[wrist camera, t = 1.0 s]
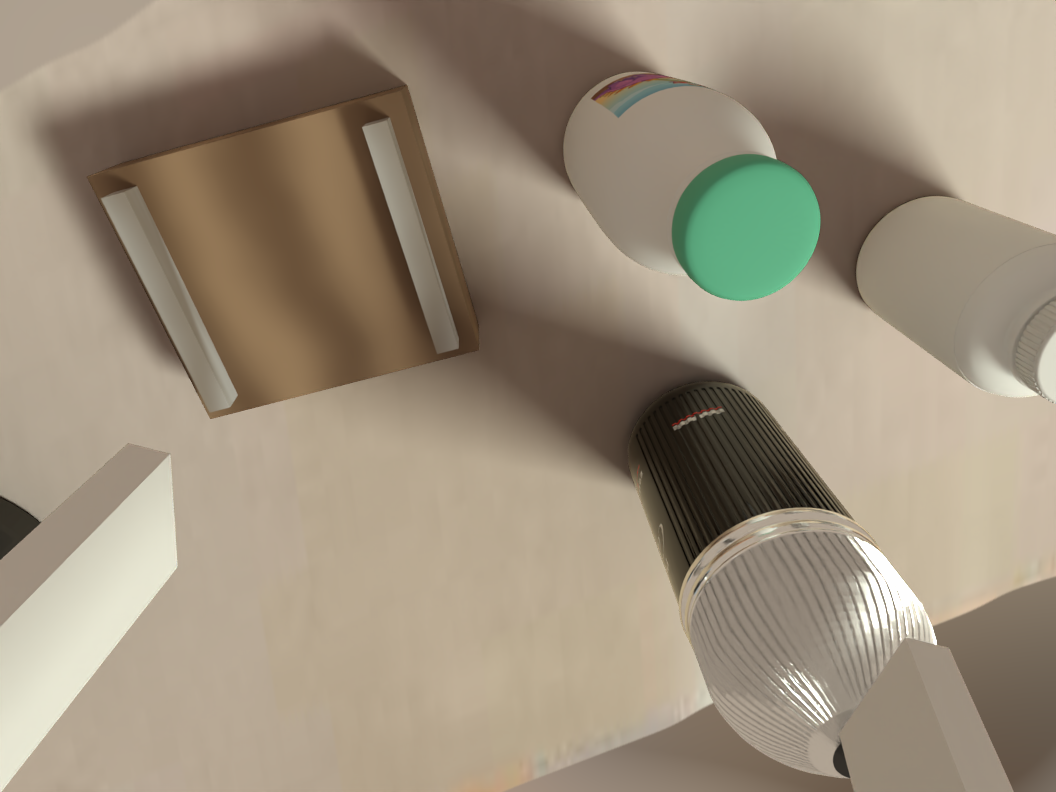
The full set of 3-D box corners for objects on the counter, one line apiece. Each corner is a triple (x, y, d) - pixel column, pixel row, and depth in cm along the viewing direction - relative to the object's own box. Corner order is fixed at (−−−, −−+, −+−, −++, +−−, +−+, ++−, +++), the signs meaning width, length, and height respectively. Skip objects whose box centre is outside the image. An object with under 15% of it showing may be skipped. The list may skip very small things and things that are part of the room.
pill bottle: (839, 225, 44) (1000, 311, 31) (972, 171, 43) (1197, 236, 30) (862, 338, 48) (1016, 459, 34) (985, 290, 47) (1193, 396, 33)
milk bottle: (653, 237, 44) (781, 381, 26) (537, 178, 42) (589, 291, 24) (724, 112, 41) (924, 177, 23) (604, 42, 39) (720, 55, 21)
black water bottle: (750, 348, 47) (1003, 634, 25) (785, 472, 52) (1024, 808, 30) (600, 405, 48) (714, 729, 26) (647, 522, 53) (777, 882, 31)
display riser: (230, 388, 46) (202, 431, 41) (121, 163, 40) (72, 182, 35) (478, 324, 45) (479, 360, 40) (407, 84, 39) (398, 93, 34)
